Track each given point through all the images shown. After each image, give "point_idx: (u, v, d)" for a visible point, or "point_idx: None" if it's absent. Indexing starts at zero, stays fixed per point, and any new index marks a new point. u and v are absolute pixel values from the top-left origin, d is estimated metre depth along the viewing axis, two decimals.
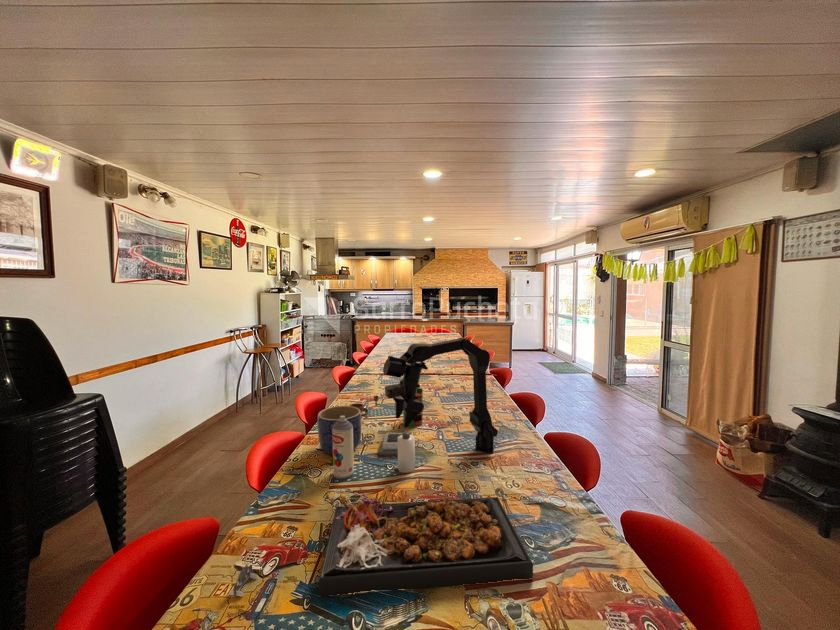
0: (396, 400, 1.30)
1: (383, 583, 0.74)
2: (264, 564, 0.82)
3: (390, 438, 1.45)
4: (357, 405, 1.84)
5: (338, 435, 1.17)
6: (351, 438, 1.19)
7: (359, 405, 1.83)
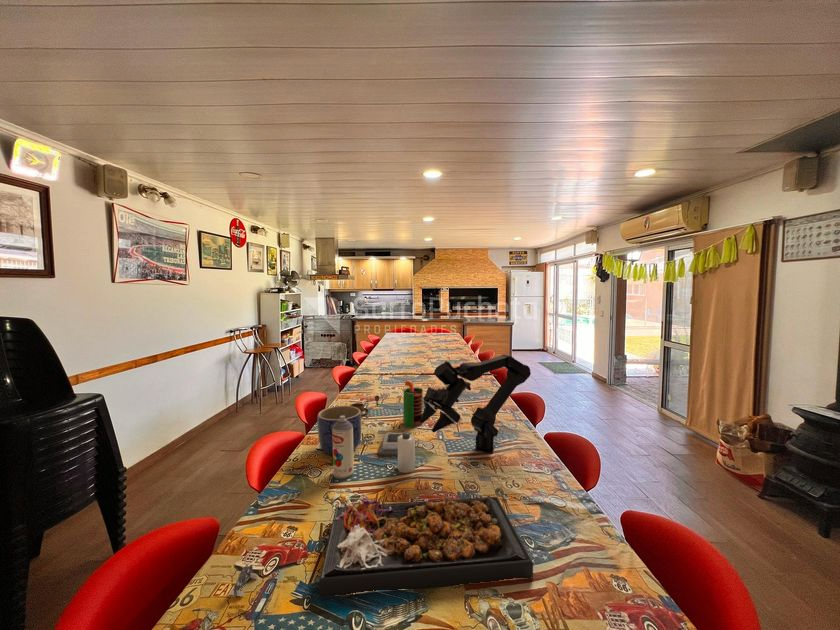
0: (427, 406, 1.33)
1: (384, 583, 0.74)
2: None
3: (390, 438, 1.45)
4: (358, 405, 1.84)
5: (338, 435, 1.17)
6: (351, 438, 1.19)
7: (360, 405, 1.84)
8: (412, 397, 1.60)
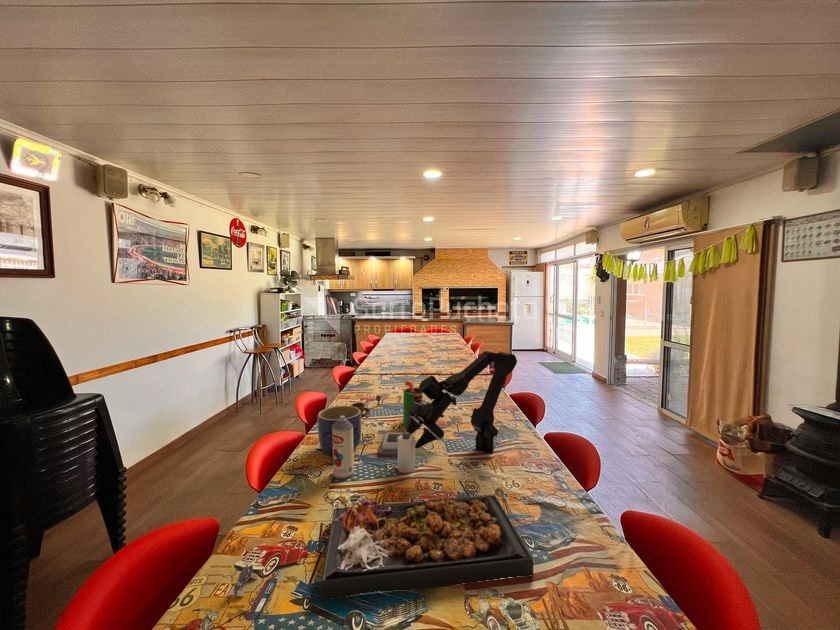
0: (412, 420, 1.31)
1: (386, 584, 0.74)
2: None
3: (390, 438, 1.45)
4: (359, 404, 1.84)
5: (338, 435, 1.17)
6: (351, 438, 1.19)
7: (361, 404, 1.84)
8: (412, 397, 1.60)
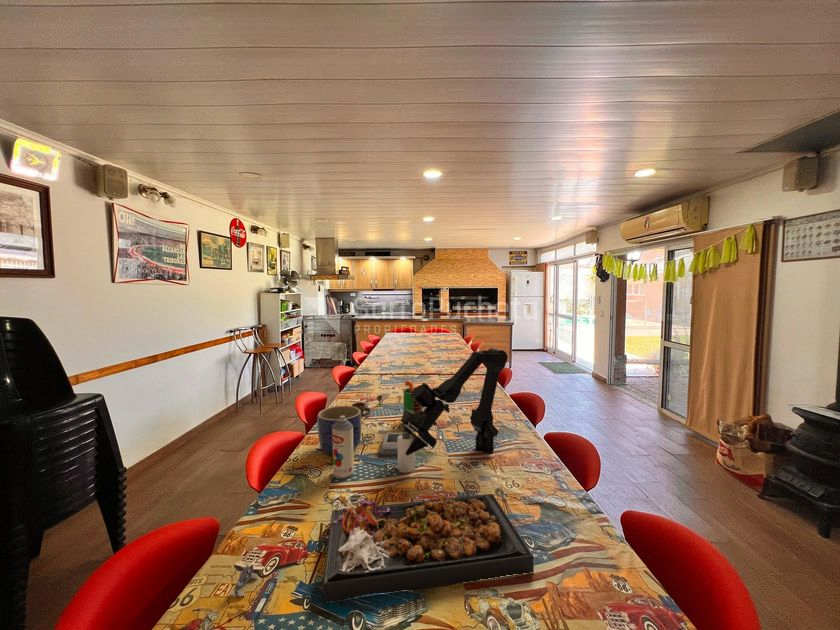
0: (406, 429, 1.28)
1: (388, 585, 0.73)
2: None
3: (390, 438, 1.45)
4: (360, 404, 1.85)
5: (338, 435, 1.17)
6: (351, 438, 1.19)
7: (362, 404, 1.84)
8: None
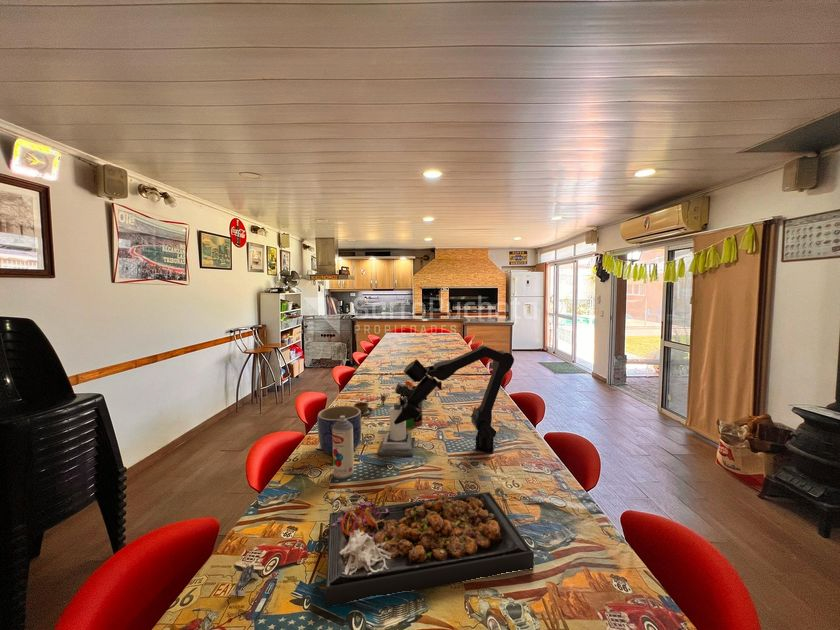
0: (401, 402, 1.38)
1: (391, 586, 0.73)
2: None
3: None
4: (362, 404, 1.85)
5: (338, 435, 1.17)
6: (351, 438, 1.19)
7: (364, 404, 1.84)
8: None
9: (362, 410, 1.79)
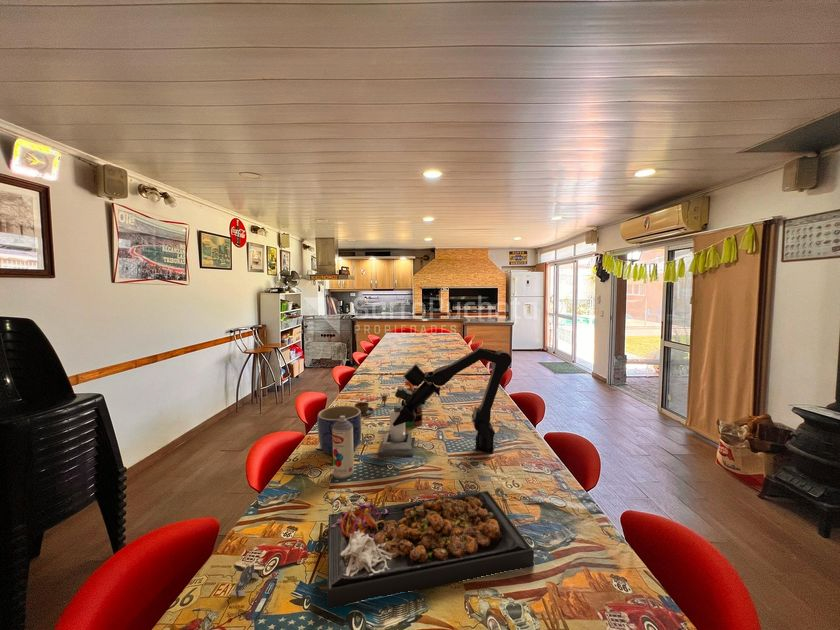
0: (403, 405, 1.43)
1: (393, 587, 0.73)
2: None
3: None
4: (363, 404, 1.85)
5: (338, 435, 1.17)
6: (351, 438, 1.19)
7: (365, 404, 1.85)
8: None
9: (363, 410, 1.79)
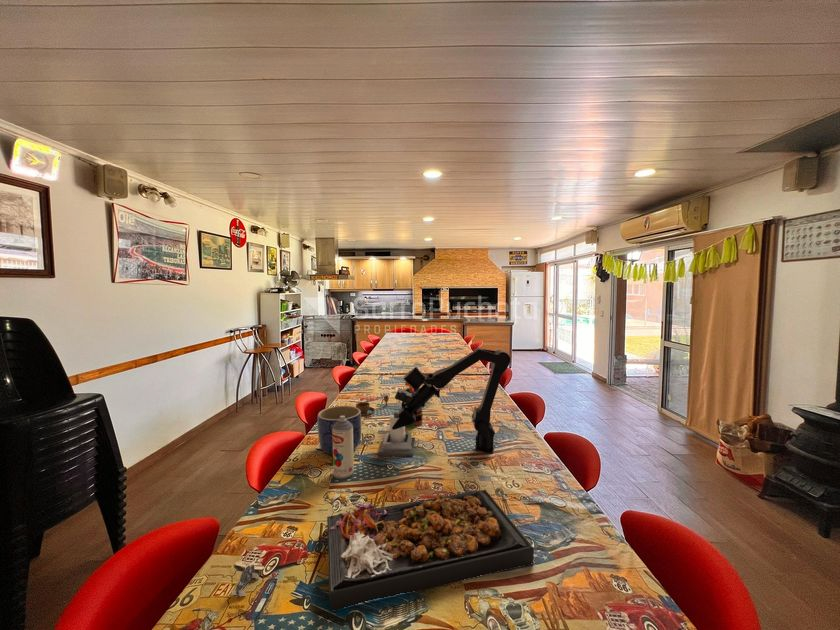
0: (403, 406, 1.45)
1: (395, 587, 0.73)
2: None
3: None
4: (365, 404, 1.85)
5: (338, 435, 1.17)
6: (351, 438, 1.19)
7: (366, 404, 1.85)
8: None
9: (363, 410, 1.79)
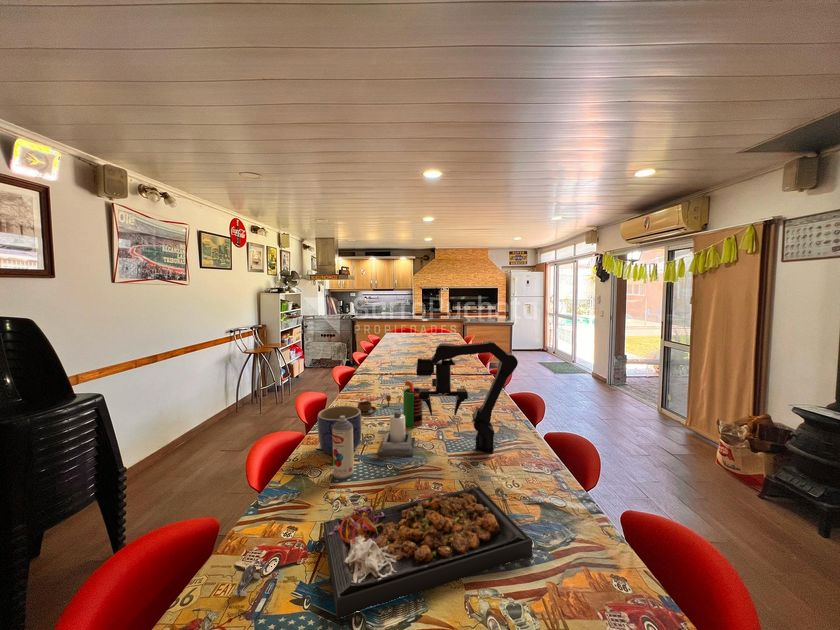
0: None
1: (402, 589, 0.72)
2: (267, 564, 0.82)
3: None
4: (367, 403, 1.86)
5: (338, 435, 1.17)
6: (351, 438, 1.19)
7: (368, 403, 1.86)
8: (412, 397, 1.60)
9: (365, 409, 1.80)
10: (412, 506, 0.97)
